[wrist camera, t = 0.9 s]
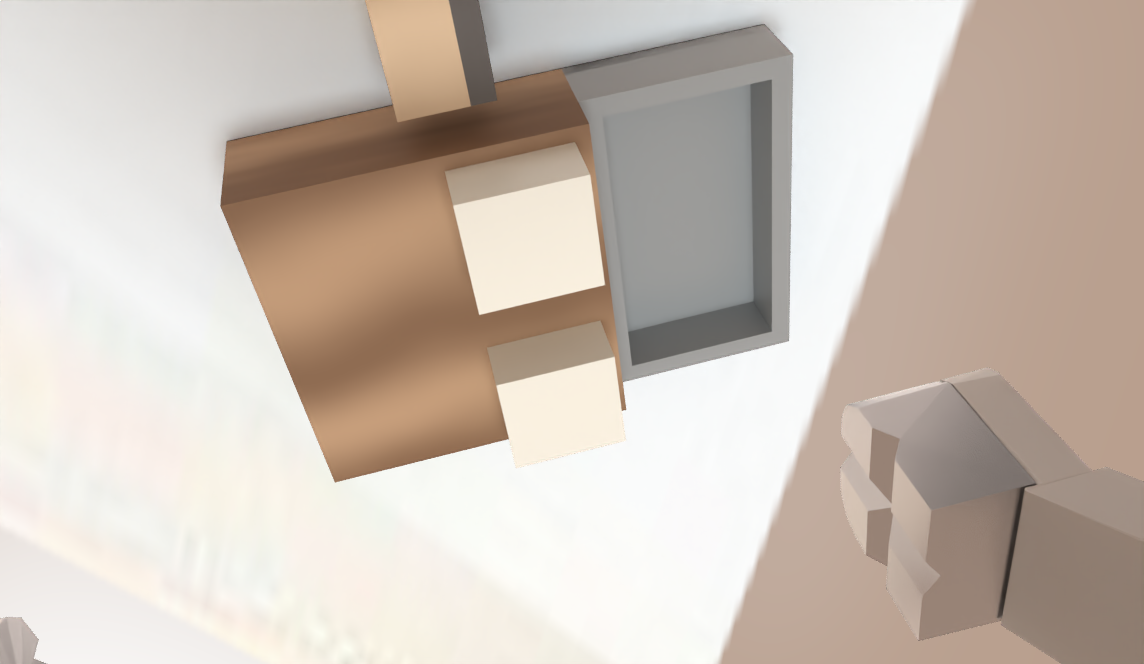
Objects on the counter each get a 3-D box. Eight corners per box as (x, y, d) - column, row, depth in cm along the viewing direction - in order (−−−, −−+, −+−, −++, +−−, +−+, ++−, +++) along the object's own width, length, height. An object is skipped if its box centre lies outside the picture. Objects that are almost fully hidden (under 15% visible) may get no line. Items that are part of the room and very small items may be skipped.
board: (226, 141, 32) (220, 206, 29) (561, 68, 33) (589, 123, 30) (331, 409, 40) (335, 482, 37) (600, 343, 41) (626, 409, 38)
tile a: (444, 171, 30) (452, 205, 29) (574, 141, 30) (590, 174, 29) (470, 278, 33) (479, 315, 31) (590, 249, 33) (604, 285, 31)
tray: (561, 68, 33) (578, 101, 31) (764, 24, 34) (793, 54, 32) (600, 343, 41) (616, 383, 39) (765, 303, 42) (788, 340, 40)
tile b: (487, 347, 35) (496, 385, 33) (600, 320, 35) (614, 356, 33) (506, 429, 37) (515, 468, 36) (611, 403, 37) (625, 440, 36)
